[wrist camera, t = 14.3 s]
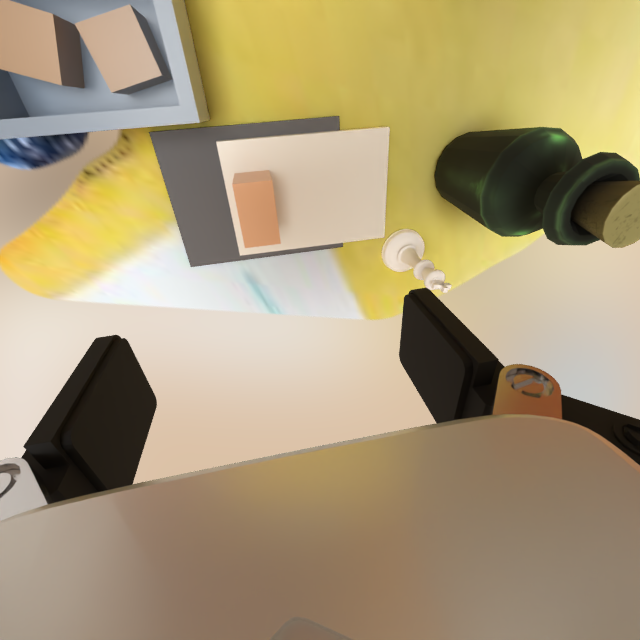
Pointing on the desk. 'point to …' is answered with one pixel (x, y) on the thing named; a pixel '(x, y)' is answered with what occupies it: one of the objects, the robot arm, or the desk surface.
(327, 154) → the snap lid
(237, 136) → the rubber mat
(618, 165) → the potion bottle
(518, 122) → the desk surface
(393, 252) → the chess piece
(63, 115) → the parts tub
